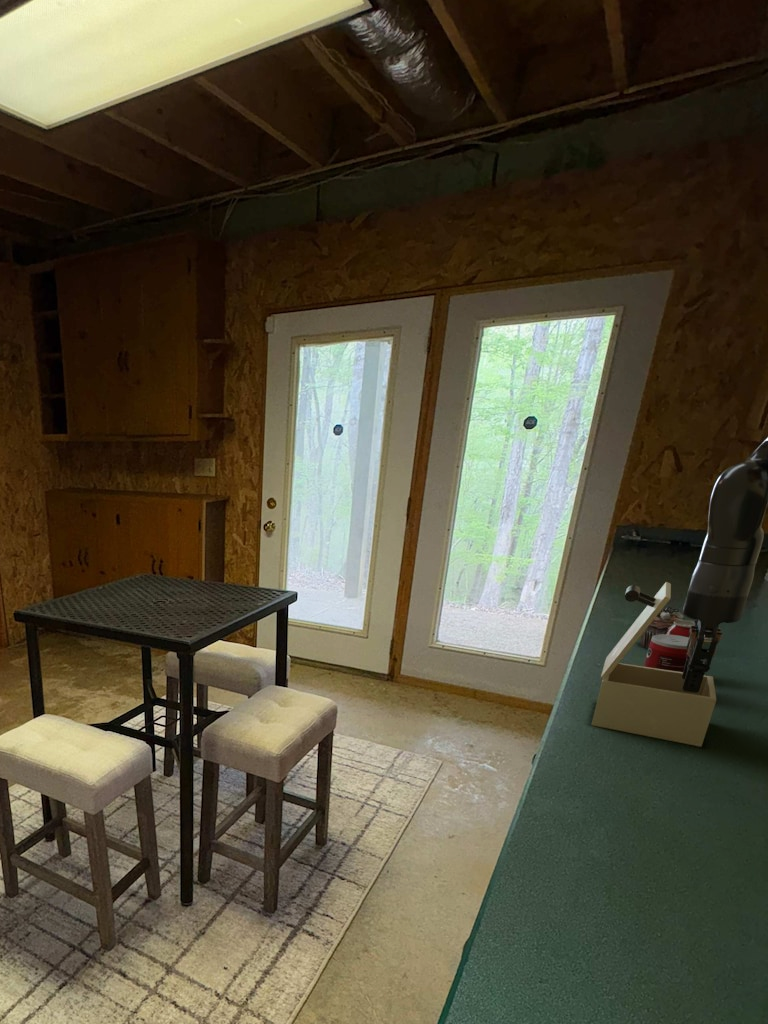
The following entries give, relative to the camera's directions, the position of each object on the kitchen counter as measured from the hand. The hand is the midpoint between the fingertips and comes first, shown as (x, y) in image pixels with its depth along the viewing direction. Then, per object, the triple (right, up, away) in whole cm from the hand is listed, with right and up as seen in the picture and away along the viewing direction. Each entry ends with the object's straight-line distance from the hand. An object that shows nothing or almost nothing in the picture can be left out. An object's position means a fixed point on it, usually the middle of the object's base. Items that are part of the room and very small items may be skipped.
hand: (689, 684), depth 108 cm
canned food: (+11, -1, +20) cm, 22 cm away
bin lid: (-7, +9, +2) cm, 12 cm away
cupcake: (+30, +9, +44) cm, 54 cm away
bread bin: (-3, -7, +6) cm, 10 cm away
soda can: (+19, +2, +26) cm, 32 cm away
